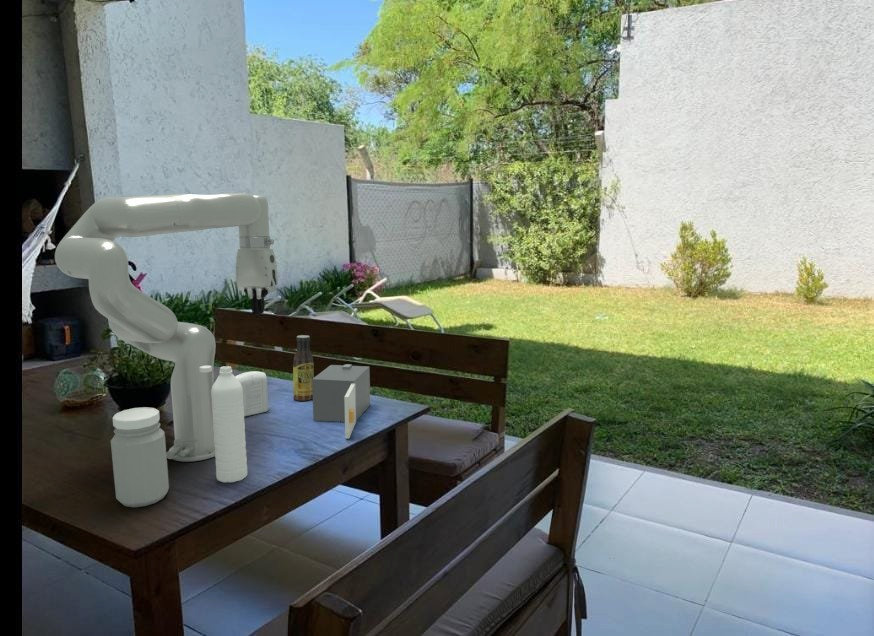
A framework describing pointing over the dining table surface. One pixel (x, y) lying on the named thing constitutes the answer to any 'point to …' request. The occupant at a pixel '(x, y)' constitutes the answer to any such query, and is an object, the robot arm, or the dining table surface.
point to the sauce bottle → (303, 370)
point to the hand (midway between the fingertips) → (258, 313)
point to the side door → (350, 410)
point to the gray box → (339, 391)
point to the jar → (139, 457)
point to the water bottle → (228, 426)
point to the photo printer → (254, 392)
